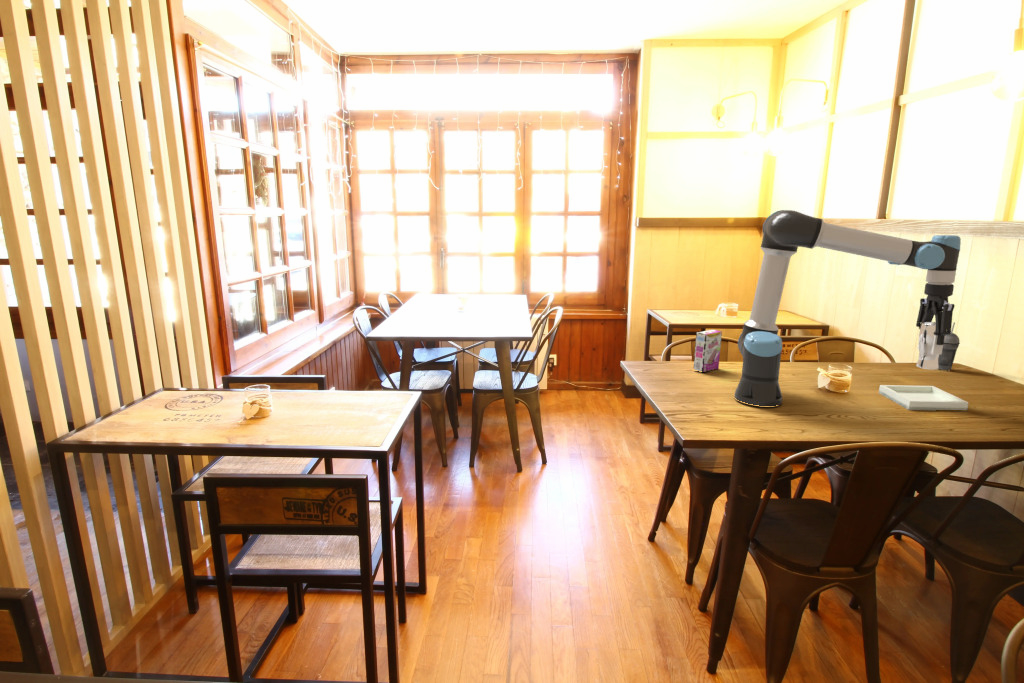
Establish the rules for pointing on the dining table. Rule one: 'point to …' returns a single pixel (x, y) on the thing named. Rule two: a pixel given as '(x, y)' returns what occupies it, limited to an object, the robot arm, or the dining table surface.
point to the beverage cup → (948, 351)
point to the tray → (922, 397)
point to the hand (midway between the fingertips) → (929, 351)
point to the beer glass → (927, 346)
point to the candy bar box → (707, 350)
